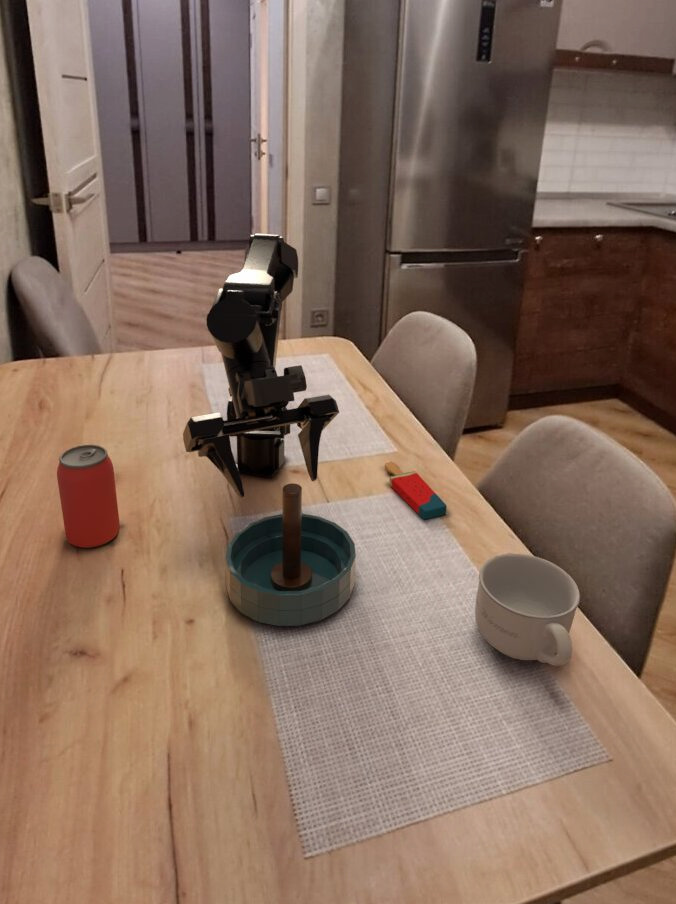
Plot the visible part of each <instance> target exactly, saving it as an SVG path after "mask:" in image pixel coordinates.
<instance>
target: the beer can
mask: <svg viewBox="0 0 676 904" xmlns="http://www.w3.org/2000/svg"><path fill="white" fill-rule="evenodd" d="M58 461H59V462H58V465H57V470H56V480H57V485H58V486H57V487H58V492H59V500H60V507H61V512H62V513H61V514H62V521H63V526H64V533H65V539H66V540H67V541H68V543H69V544H71V545H73V546H75V547H77V548H83V549H87V548H95V547H100V546H103V545H105V544H108V543H109V542H110V541H112V540H113V539H115V537H116V536H117V535H118V533H119V531H120V529H121V524H120V515H119V506H118V505H119V504H118V496H117V487H116V478H115V477H116V476H115V469H114V464H113V462H112V459H111V458H110V456H109V455H108V450H107V449H106V448H105V447H103V446H100V445H96V444H83V445H76V446H73V447H70V448H68V449H66V450H65V451H64V452H62V453H61V454H60V456H59V458H58Z"/></svg>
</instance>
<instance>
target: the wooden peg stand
mask: <svg viewBox="0 0 676 904" xmlns="http://www.w3.org/2000/svg"><path fill="white" fill-rule="evenodd" d="M302 503H303V487H302V486H301V485H300V484H298V483H293V482H291V483H287V484H285V485H284V486H283V487H282V511H281V512H282V513H281V514H282V562H281V563H279V564H277V565H276V566H275V567H274V568H273V569H272V571H271V584H272V586H273V587H274V588H275V589H276V590H277V591H302V590H306V589H307V588H308V587H309V586H310V584H311V582H312V570H311V568H310V566H309V565H307V564H306V563H304V562H301V519H302V514H303V512H302V511H303V510H302V507H303V504H302Z"/></svg>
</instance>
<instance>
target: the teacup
mask: <svg viewBox="0 0 676 904" xmlns="http://www.w3.org/2000/svg"><path fill="white" fill-rule="evenodd" d="M580 602H581V593H580V590H579V587H578V585H577V583H576V581H575V580H574V579H573V577H572V576H571V575H570V574H569V573H568V572H566V571H565V570H564V569H562V567H560V566H558V565H557V564H555V563H553V562H552V561H549V560H546V559H544V558H541V557H538V556H536V555H531V554H525V553H515V552H514V553H513V552H507V553H503V554H497V555H495V556H492V557H490V558H488V559H487V560H485V562H484V563H483V564H482V566H481V567H480V570H479V573H478V585H477V590H476V598H475V605H474V618H475V622H476V626H477V628H478V630H479V633H480V634H481V636H482V637H483V639H485V640H486V642H487V643H489V645H490V646H492V647H493V648H494V649H496V651H498V652H500V653H501V654H503V655H505V656H506V657H509V658H511V659H516V660H519V661H538V662H540V663H542V664H543V663H544V664H549V665H552V666H557V667H559V666H563V665H566V664H568V663H569V662H570V660H571V659H572V655H573V643H572V639H571V636H570V631H571V628H572V626H573V622H574V618H575V614H576V611H577V609H578V607H579V605H580Z"/></svg>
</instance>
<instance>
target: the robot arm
mask: <svg viewBox="0 0 676 904" xmlns="http://www.w3.org/2000/svg"><path fill="white" fill-rule="evenodd" d="M248 242H249V243H248V244H247V245H246V246H245V249H244V251H245V252H244V262H243V265H242V268H241V270H240V272H236V273H233V274H230V275H229V276H227V278H226V280H225V281H224V283H223V285H222V288H219V289H218V291H217V294H216V296H215V298H214V301H213V303H212V305H211V308H210V309H209V312H208V313H207V316H206V319H205V320H206V327H207V330H208V332H209V334H210V336H211V338H212V340H213V342H214V345H215V346H216V348H217V350H218V352H219V353H220V354H221V359H222V362H223V367H224V370H225V375H226V379H227V384H228V394H229V397H231V398H229V399H228V400H227V401H228V402H227V406H226V407H227V408H226V420H224V418H223V415H222V414H221V413H220V412H214V413H208V414H203V415H195V416H191V417H190V418H189V420H188V421H187V423H186V425H185V427H184V430H183V432H182V440H183V445H184V448H185V449H184V450H185V453H193V452H197V456H198V457H199V458H203V457H206V458H207V459H208V460H209V461H210V462H211V464H213V465H214V466H215V468H217V470H218V471H219V472H220V473H221V474H222V475H223V477H224V479H225V480H226V481H227V482H228V483H229V485H230V486H231V488H232V489H233V490H234V492H235V493H236V495H237V496H238V498H240V499H243V498H244V497H245V490H244V485H243V481H242V478H241V477H242V476H241V475H240V474H243V475H249V476H256V477H261V478H266V479H271V478H273V477H274V475H275V474H276V473H277V471H278V470H279V469H280V468H281V467H282V466H283V463H284V462H285V460H286V456H285V438H286V436H287V435H289V434H291V425H295V424H296V427H298V428H299V429H301V431H299V432H298V434H297V437H298V441H299V444H300V449H301V452H302V456H303V459H304V463H305V467H306V470H307V473H308V476H309V477H310V480H311V482H316V480H317V479H318V470H319V469H318V467H319V451H320V443H321V437H322V432H323V431H324V430H325V429H326V428H327V427H328V425H330V423H331V422H332V421H333V420H334V419H335V418H336V417H337V416H338V414H340V410H339V407H338V403H337V400H336V399H335V398H334V397H332V395H330V394H323V395H316V396H310V397H305V398H304V399H303V400H302V401H301V402H300V404H299V405H298V406H297V407H295V408H289V409H288V408H287V406H288V405H289V403H290V402H294V401H295V393H301V392H306V391H307V388H308V385H307V379H306V378H307V377H306V375H305V372H304V369H303V366H302V365H293V366H287V367H284V368H283V375H279V376H278V373H277V370H276V365H277V355H278V345H279V335H280V324H281V314H282V310H283V302H284V300H286V299H287V298H288V296H289V295H290V294H292V292H293V290H294V281H295V279H298V277H299V276H298V275H299V257H298V251H297V249H296V248H295V247H293V246H292V245H290V244H289V243H287V242H285V239H284V236H280V235H279V234H271V233H270V234H268V233H255V234H250V237H249V241H248ZM231 437H233V438H234V437H236V460H235V457H234V454H233V451H232V444H231Z"/></svg>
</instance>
